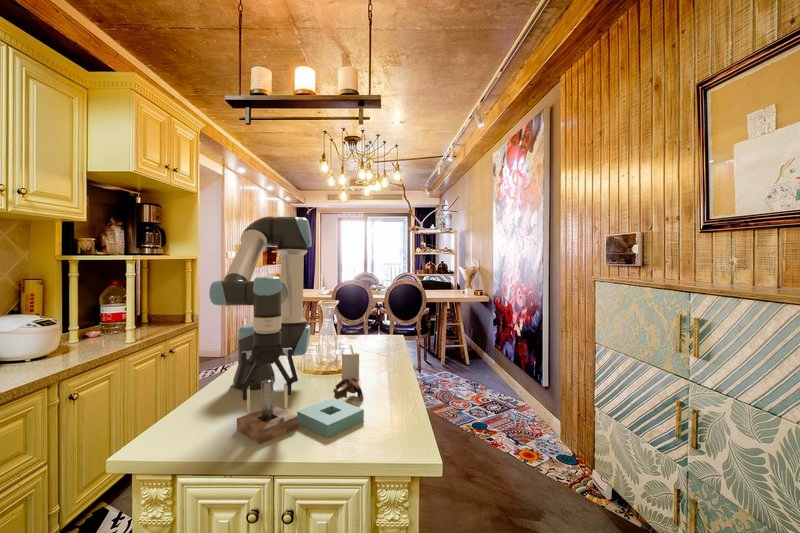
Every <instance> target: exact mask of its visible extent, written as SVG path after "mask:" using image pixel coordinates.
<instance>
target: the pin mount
mask: <svg viewBox="0 0 800 533" xmlns="http://www.w3.org/2000/svg"><path fill="white" fill-rule="evenodd" d="M298 427H299V424H298V416H297V414H293V413H291V412H289V411H288V410H284V409H283V408H280V407H278V406H276V405H273V419H272V420H269V421H266V422H264V421H262V409H259V410H257V411H254V412H250V413H247V414H245V415H241V416H240V417H236V431H237V432H239V433H240V434H243V436H246V437H248V438H249V439H250V440H252V441H254V442H255V443H257V444H263V443H265V442H266V443H267V442H268V441H270V440H274V439H276V438H278V437H280V436H282V435H285V434H287V433H290V432H292V431H294V430H297V429H298Z"/></svg>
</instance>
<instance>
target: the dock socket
mask: <svg viewBox="0 0 800 533" xmlns="http://www.w3.org/2000/svg"><path fill="white" fill-rule="evenodd" d="M364 411H365V409H364V408H361V407H359V406H356V405H353V404H351V403H348V402H345V401H343V400H340V399H335V398H334V397H332V398H329V399H326V400H324V401H321V402H317V403H315V404H313V405H310V406H307V407H306V408H303V409H299V410H297V411H296V416H298V425H301V426H303V427H305V428H307V429H309V430H311V431H313V432H315V433H318V434H319V435H321V436H324V437H326V438H330V437H332V436H334V435H337V434H339V433H341V432H343V431H345V430H347V429H349V428H351V427H353V426H356V425H357V424H360V423H362V422H364V417H365V416H364V415H365V412H364Z"/></svg>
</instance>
